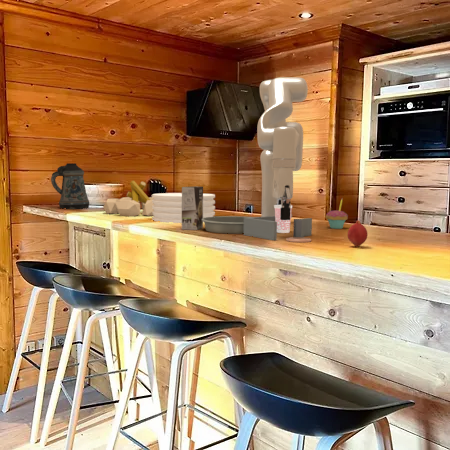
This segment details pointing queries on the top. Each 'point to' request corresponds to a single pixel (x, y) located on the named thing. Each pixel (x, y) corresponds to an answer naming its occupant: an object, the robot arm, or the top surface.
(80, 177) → the beer stein
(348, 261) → the top surface
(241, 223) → the cake pan
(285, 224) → the beverage cup
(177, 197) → the plate stack
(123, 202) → the campfire
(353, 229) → the onion
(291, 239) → the coaster
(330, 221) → the cupcake
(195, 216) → the coffee box
